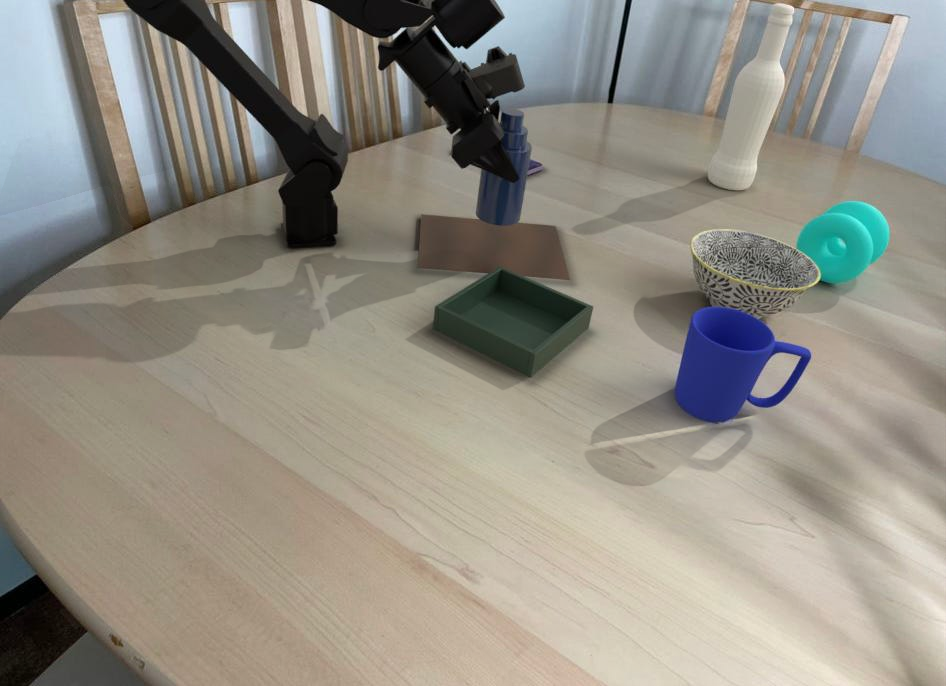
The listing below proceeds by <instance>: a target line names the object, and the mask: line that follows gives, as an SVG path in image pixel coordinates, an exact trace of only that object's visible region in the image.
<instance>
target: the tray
mask: <svg viewBox="0 0 946 686" xmlns="http://www.w3.org/2000/svg"><path fill="white" fill-rule="evenodd" d="M593 311H594V305H591V304H589V303H586V302H584V301H582V300H579V299H577V298H575V297H573V296H570V295H568V294H565V293H564V292H561V291H559V290H556V289H554V288H552V287H550V286H547V285H544V284H543V283H540V282H538V281H536V280H533V279H531V278H530V277H526V276H522V275H519V274H517V273H515V272H512V271H510V270H508V269H505V268H503V267H501V266H500V267H498V268H496V269H495V270H493V271H491V272H490V273H486V274H485V275H484V276H482V277H480V278H479V279H477V280H475V281H474V282H472V283H470V284H469V285H467V286H465V287H463V288H462V289H460V290H459V291H458V292H456V293H453V295H451V296H449V297H448V298H445V299H444V300H443V301H441V302H440V303H438V304H437V305H434V312H433V313H434V314H433V325H432V330H434V331H436V332H438V333H440V334H442V335H444V336H446V337H448V338H450V339H452V340H454V341H456V342H458V343H460V344H462V345H463V346H466V347H468V348H470V349H472V350H474V351H476V352H478V353H480V354H482V355H484V356H486V357H488V358H490V359H493V360H494V361H496V362H498V363H500V364H502V365H504V366H505V367H508V368H511V369H512V370H514V371H516V372H518V373H520V374H522V375H525V376H526V377H528V378H533V377H534V376H535V375H536V374H537V373H538V372H539V371H541V370H542V369H543V368H544V367H545V366H547V365H548V364H549V363H550V362H551V361H552V360H553V359H555V358H556V357H557V356H558V355H559V354H560V353H562V352H563V351H564V350H565V349H566V348H567V347H569V346H570V345H571V344H572V343H573V342H575V341H576V340H577V339H578V338H579V337H581V335H583V334H584V333H585V332H586V331H587V330H589V328H590V324H591V319H592V315H593Z"/></svg>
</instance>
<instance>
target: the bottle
mask: <svg viewBox="0 0 946 686" xmlns="http://www.w3.org/2000/svg"><path fill="white" fill-rule="evenodd" d="M794 14H795V7H794V6H792V5H790V4H787V3H781V2H779V3H774V4H772V6H771V8H770V14H769V15H768V17H767V20H766V21H767V24H766V27H765V29H764V33H763V36H762V38H761V41H760V44H759V48H758V50H757V53H756V56H755V57H754V58H753V59H752V60H750V61H749V62H748V63H747V64H746V65H744V66H743V67H742V69H741V70H740V72H739V73H738V74H737V76H736V79H735V81H734V84H733V88H732V92H731V96H730V101H729V105H728V108H727V113H726V117H725V121H724V126H723V130H722V133H721V137H720V138H721V139H720V142H719V145H718V147H717V148H718V149H717V150H716V152H715V153H714V155H713V156H712V158H711V160H710V163H709V166H708V170H707V179H708V181H709V182H710V183H712V184H713V185H714V186H716V187H718V188H721V189H725V190H729V191H737V192H738V191H744V190H748V189H749V188H750V187H751V186H752V184H753V182H754V180H755V177H756V174H757V171H758V157H759V153H760V151H761V147H762V145H763V142H764V140H765V138H766V136H767V133H768V130H769V128H770V125H771V124H772V123H771V122H772V121H773V118H774V115H775V113H776V110H777V108H778V105H779V103H780V100H781V98H782V95H783V92H784V89H785V85H786V78H785V77H786V76H785V73H784V69H783V68H782V65H781V61H780V60H781V57H782V54H783V51H784V47H785V45H786V44H785V43H786V40H787V38H788V34H789V31H790V27H791V26H792V25H793V21H794V20H793V15H794Z"/></svg>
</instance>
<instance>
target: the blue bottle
mask: <svg viewBox="0 0 946 686" xmlns="http://www.w3.org/2000/svg"><path fill="white" fill-rule="evenodd" d="M524 118H525V112H524V111H522V110H520V109H517V108H512V107H511V108H510V107H509V108H507V107H506V108H503V109H501V114H500V119H499V121H498V122H499V124H500V125H501V126H502V125H503V127H504V133H505V134H504V138H503V143H502V145H503V147H504V148H505V150H506V152H507V154H508V156H509V158H510V159H511V161H512V163H513V165H514V167H515V169H516V171H517V173H518V174H519V176H520V179H519V180H518V181H516V182H515V183H512V182H509V181H507V180H505V179H503V178H501V177H499V176H496V175H494V174H492V173H490V172H488V171H485V170H483V169H480V177H479V184H478V191H477V199H476V200H477V201H476V206H475V216H476V217H477V219H480V220H482V221H484V222H486V223H489V224H493V225H500V226H508V225H513V224H516V223H520V220H521V216H522V211H523V204H524V199H525V198H524V197H525V193H526V186H527V179H528V175H527V174H528V168H529V162H530V159H531V155H532V149H533V145H532V144H531V143H530V141H528V135H529V129H528V128H527V126H524Z"/></svg>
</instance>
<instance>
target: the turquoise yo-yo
mask: <svg viewBox="0 0 946 686" xmlns="http://www.w3.org/2000/svg"><path fill="white" fill-rule="evenodd" d="M889 242H890V226H889V224H888V221H887V219H886V217H885V216H884V215H883V214H882V212H881V211H880V210H879V209H877V208H876V207H875V206H873V205H871V204H869V203H866V202H863V201H858V200H847V201H842V202H839V203H836V204H834V205H832V206H831V207H829V208H828V209H827V210H825V211H824V212H823V214H821V215H818V216H815V217H814V218H812V219H811V220H810V221H808V222H807V223H806V224H805V225H804V226H803V228H802V229H801V231H800V232H799V234H798V236H797V240H796V246H795V248H796V249H798V250H799V251H801V252H802V253H804V254H805V255H807V256H808V257H809V258H810V259H811V260H812V261H813V262H814V263H815V264H816V265H817V266H818V268H819V270H820V273H821V277H820V279H819V281H821V282H824V283H828V284H843V283H847V282H849V281H852V280H854V279H856V278H857V277H859V276H860V275H861V274H863V273H864V272H865V271H866V269H868V267H869V266H870V265H872V264H874V263H875V262H876V261H878V260H879V259H880V258H881V257H882V256H883V254H884V253H885V252H886V250H887V248H888V245H889Z"/></svg>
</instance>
